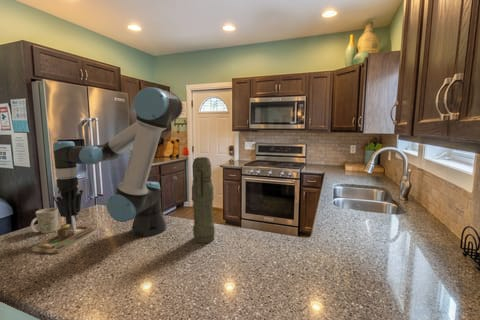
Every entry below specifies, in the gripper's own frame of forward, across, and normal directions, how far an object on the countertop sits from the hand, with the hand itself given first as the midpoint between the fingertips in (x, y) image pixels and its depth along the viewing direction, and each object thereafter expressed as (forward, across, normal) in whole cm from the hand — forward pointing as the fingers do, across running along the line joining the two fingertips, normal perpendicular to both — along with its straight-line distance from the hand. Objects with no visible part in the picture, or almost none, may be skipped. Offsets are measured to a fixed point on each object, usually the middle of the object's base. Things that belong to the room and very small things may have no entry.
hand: (72, 230), depth 107 cm
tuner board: (+4, +3, 0) cm, 5 cm away
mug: (+4, -3, -18) cm, 18 cm away
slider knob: (+2, +3, +2) cm, 4 cm away
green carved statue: (+4, -8, +58) cm, 59 cm away
